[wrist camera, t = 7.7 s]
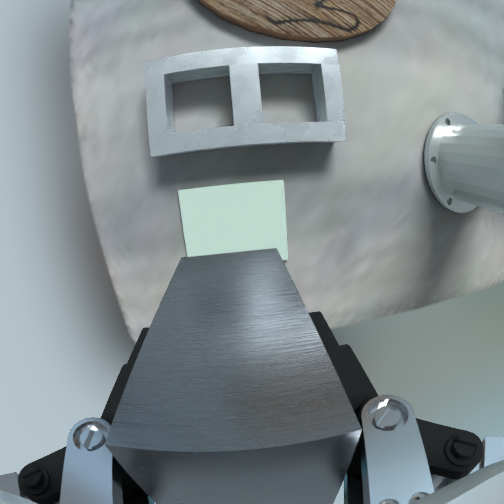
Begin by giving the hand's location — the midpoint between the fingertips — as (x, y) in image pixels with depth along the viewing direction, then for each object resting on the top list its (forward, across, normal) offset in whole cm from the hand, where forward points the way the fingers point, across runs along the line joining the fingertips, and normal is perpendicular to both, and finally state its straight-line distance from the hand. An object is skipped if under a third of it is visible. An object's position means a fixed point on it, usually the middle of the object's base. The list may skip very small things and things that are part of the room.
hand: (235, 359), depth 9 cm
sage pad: (+20, 0, 0) cm, 20 cm away
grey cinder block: (+20, -2, -12) cm, 24 cm away
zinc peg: (+5, 0, 0) cm, 5 cm away
